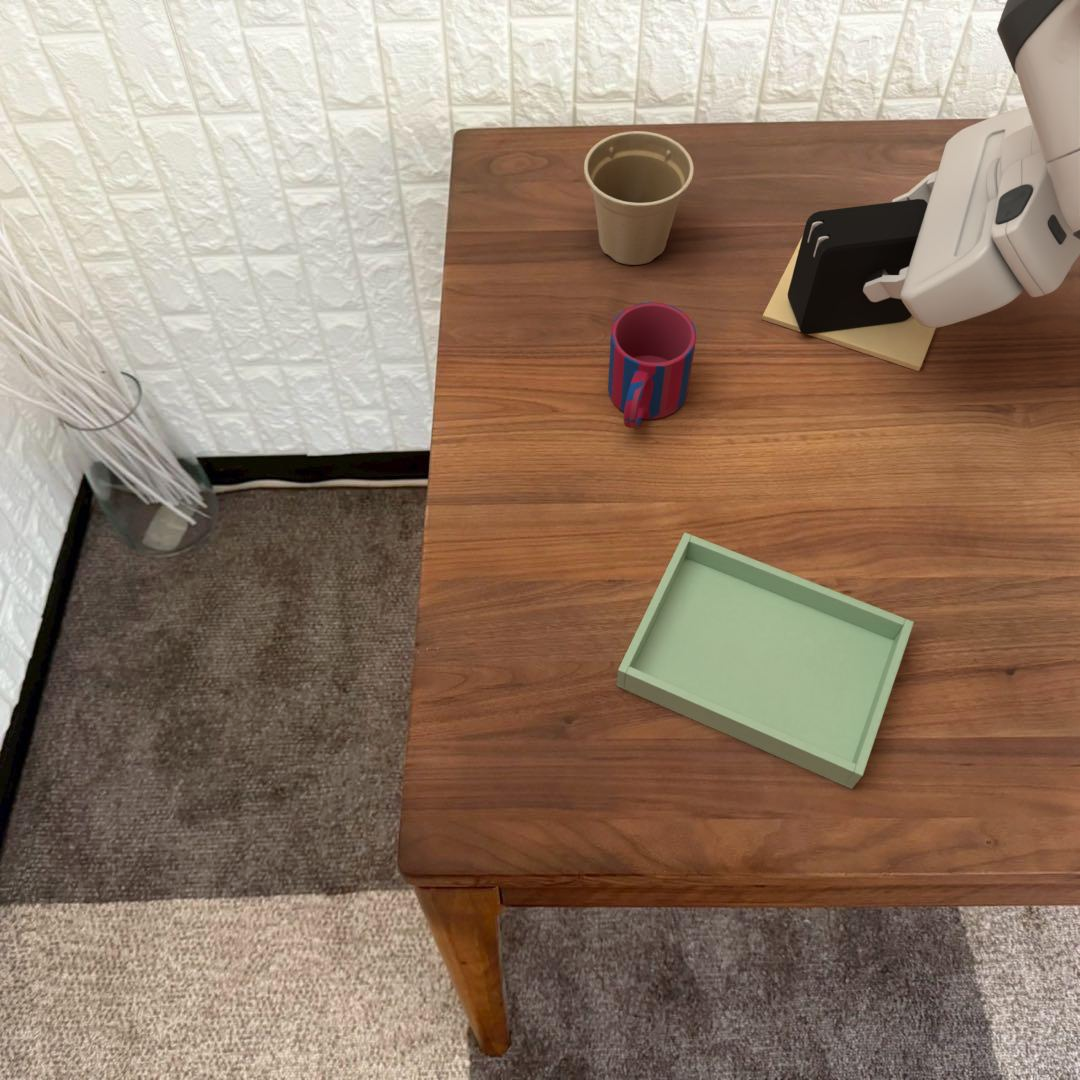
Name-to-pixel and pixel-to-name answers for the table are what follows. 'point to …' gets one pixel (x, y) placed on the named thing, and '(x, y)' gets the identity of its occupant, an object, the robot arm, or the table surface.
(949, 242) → the robot arm
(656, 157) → the flower pot
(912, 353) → the cork mat
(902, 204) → the electronic device
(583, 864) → the table surface
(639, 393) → the mug
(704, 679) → the tray
